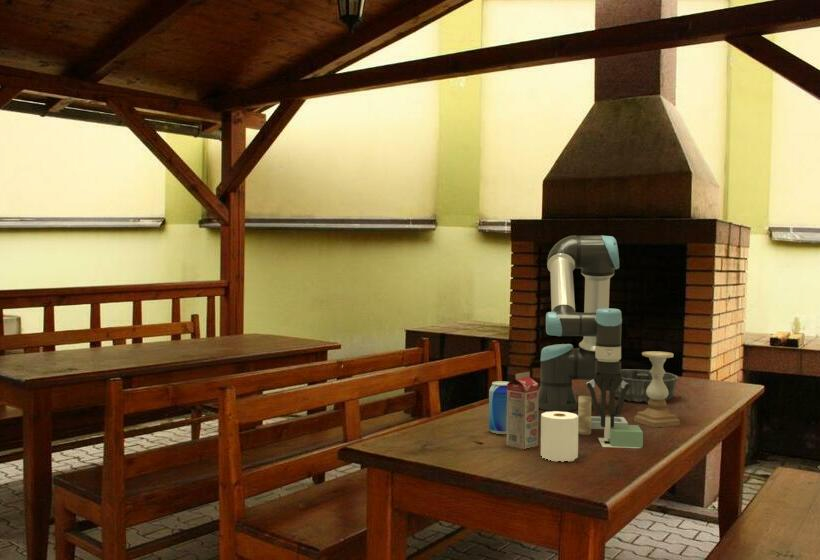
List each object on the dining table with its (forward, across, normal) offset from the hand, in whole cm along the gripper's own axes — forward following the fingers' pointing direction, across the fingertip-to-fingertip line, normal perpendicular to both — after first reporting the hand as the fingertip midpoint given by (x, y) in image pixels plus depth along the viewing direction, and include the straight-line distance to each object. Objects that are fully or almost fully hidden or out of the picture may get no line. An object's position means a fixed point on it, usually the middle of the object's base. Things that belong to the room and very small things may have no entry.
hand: (607, 437), depth 229 cm
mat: (+2, +4, 0) cm, 4 cm away
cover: (+2, +5, 0) cm, 5 cm away
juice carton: (+2, -26, -6) cm, 26 cm away
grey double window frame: (+2, +1, +22) cm, 22 cm away
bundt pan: (+2, +23, +73) cm, 77 cm away
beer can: (+2, -32, +10) cm, 33 cm away
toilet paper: (+2, -15, -17) cm, 23 cm away
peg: (+2, -6, +11) cm, 12 cm away
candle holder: (+2, +20, +30) cm, 36 cm away
